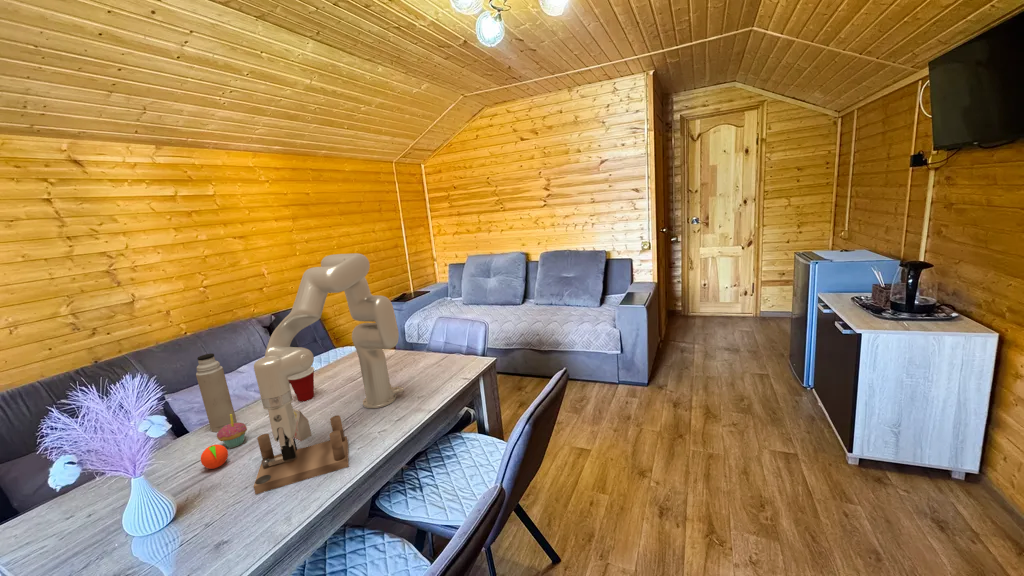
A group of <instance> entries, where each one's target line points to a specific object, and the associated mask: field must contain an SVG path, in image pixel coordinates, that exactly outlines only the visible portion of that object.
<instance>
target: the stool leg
mask: <svg viewBox="0 0 1024 576" xmlns="http://www.w3.org/2000/svg"><path fill="white" fill-rule="evenodd" d="M285 437H286V436H285ZM285 441H288V439H287V440H285ZM291 443H292V445H293V447H294V451H295V455H296V457H295V458H293V459H290V460H286V461H284V460H283V457H282V456H281V457H277V458H274V459H270V460H269V458H265V459H263V460H261V462H262V466H263V468H266V467H269V466H272V465H275V464H279V463H282V462H291V461H294V460H295V459H296V458H297V453H296V449H295V445H294V440H293V438H291Z"/></svg>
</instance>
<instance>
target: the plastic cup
mask: <svg viewBox="0 0 1024 576" xmlns="http://www.w3.org/2000/svg"><path fill="white" fill-rule="evenodd" d="M314 373H315V367H314V366H311V367H310V368H309V369H308V370H306V371H304V372H302V373H299V374H296V375H293V376H290V377H288V381H289V385H290V387H291V388H292V389H293V391H294V394H295V396H296V398H297V400H298V402H300V403H303V401H304V402H308V401H311V400H312V399H313V398H315V397H314V395H315V390H314V389H315V382H314V378H315V377H314V376H315V375H314ZM307 400H308V401H307Z"/></svg>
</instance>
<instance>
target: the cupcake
mask: <svg viewBox="0 0 1024 576" xmlns="http://www.w3.org/2000/svg"><path fill="white" fill-rule="evenodd" d="M230 419H231V423H230V424H227V425H225V426H224V427H223V428H221V429H220V430H219V432H216V438H217V440H218V441H220V442H223V443H224V444H225V445H226V447H227V448H230V449H231V447H232V448H235V447H239V446H240V445H242V444H243V443H244V441H245V436H246V435H245V434H246V432H247V431H248V427H247V425H246V424H245V423H244V422H238V421H237V423H233V416H232V414H230Z"/></svg>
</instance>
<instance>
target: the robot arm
mask: <svg viewBox="0 0 1024 576" xmlns="http://www.w3.org/2000/svg"><path fill="white" fill-rule="evenodd" d="M369 271H370V260H369V258H368V257H367V256H366V255H364V254H362V253H356V252H355V253H337V254H330V255H325V256H324V257H323V258H322V260H321V261H320V266H316V267H310V268H307V269H306V270H305V271H304V273H303V274H302V276H301V277H302V278H301V281H300V283H299V285H298V289H297V293H296V296H295V298H294V299H295V300H294V302H293V304H292V309H291V310H290V312H289V314H288V315H286V316H285V317H284V318H283V319H282V321H280V323H279V324H278V325H277V326H276V327H275V329H274V330H273V332H272V334H271V335H270V337H269V339H268V343H267V346H266V349H265V352H264V353H265V354H264V357H262V358H259V359H258V360H256V361H255V362H254V364H253V371H254V375H255V379H256V382H257V386H258V387H257V388H258V391H259V394H260V399H261V403H262V407H263V409H264V410H267V412H268V418H269V422H270V428H271V430H272V431H271V432H272V436H273V438H274V441H275V442H278V443H279V448H280V452H281V453H280V454H282V457H283V460H284V461H286V460H290V459H293V458H295V457H296V455H295V451H294V447H293V445H292V443H291V438H293V440H294V445H295V449H296V451H297V449H298V447H297V442H296V439H295V438H294V435H295V431H296V427H297V421H296V418H295V414H294V410H293V409H294V408H293V404H292V402H293V399H294V398H293V394H292V391H291V390H292V389H291V384H290V382H289V381H288V377H290V376H293V375H296V374H299V373H302V372H304V371H306V370H308V369H309V368H310V367H312V366H313V364H314V361H315V359H314V357H315V356H314V353H313V352H312V351H311V350H310V349H308V348H306V347H299V346H298V347H296V346H295V347H293V346H291V344H292V341H293V339H294V338H295V337H296V336H297V334H299V332H301V330H303V329H305V328H307V327H309V326H310V325H312V324H314V323H316V322H318V321H319V320H320V319H321V317H322V313H323V310H324V307H325V303H326V300H327V297H328V294H329V293H330V294H334V293H335V294H337V293H338V294H339V293H341V292H344V295H345V298H346V301H347V302H346V303H347V307H348V311H349V313H350V316H351V318H352V319H353V321H357V322H362V323H359V324H357V325H356V326H355V327H354V328H353V329H352V332H351V340H352V343H353V346H354V348H355V351H356V353H357V356H358V362H359V368H360V372H361V378H362V384H363V388H364V393H365V394H364V395H365V398H364V399H363V400H362V405H363V407H364V408H366V409H378V408H383V407H386V406H389V405H391V404H392V403H394V402H395V401H396V399H397V394H400V393H404V391H405V390H404V387H403V386H402V387H400V385H398V386H392V385H391V381H390V376H389V369H388V364H387V358H386V355H385V352H384V350H389V349H393V348H395V347H396V345H398V342H399V339H400V335H399V334H400V333H399V329H398V328H399V327H398V324H397V319H396V315H395V310H394V306H393V303H392V301H391V300H390V298H388V297H387V296H384V295H377V294H376V295H373V294H372V292H371V289H370V286H369V283H368V280H367V278H366V276H367V274H368V273H369ZM363 322H364V323H363ZM285 436H286V437H285ZM287 439H288V441H285V440H287Z"/></svg>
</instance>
